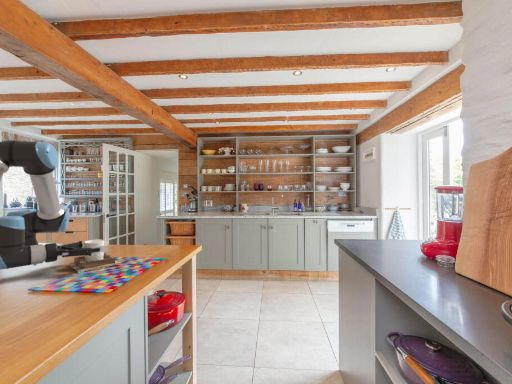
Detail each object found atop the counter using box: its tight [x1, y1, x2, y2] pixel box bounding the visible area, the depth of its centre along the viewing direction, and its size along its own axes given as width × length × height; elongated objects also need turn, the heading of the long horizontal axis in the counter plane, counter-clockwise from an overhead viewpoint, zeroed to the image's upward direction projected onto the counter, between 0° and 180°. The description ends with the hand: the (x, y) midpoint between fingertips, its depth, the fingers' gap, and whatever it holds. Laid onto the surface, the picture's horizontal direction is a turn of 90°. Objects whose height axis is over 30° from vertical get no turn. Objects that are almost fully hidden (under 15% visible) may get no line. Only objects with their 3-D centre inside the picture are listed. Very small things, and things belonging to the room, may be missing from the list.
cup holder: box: [68, 252, 121, 273], centre depth 117 cm, size 16×16×4 cm
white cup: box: [84, 239, 105, 262], centre depth 117 cm, size 8×8×10 cm
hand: (103, 245), depth 120 cm, fingers open, 13 cm apart
